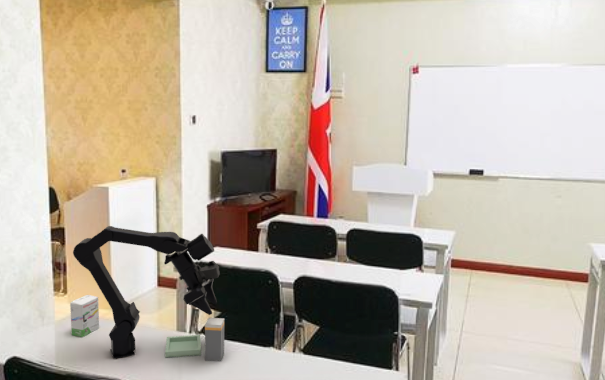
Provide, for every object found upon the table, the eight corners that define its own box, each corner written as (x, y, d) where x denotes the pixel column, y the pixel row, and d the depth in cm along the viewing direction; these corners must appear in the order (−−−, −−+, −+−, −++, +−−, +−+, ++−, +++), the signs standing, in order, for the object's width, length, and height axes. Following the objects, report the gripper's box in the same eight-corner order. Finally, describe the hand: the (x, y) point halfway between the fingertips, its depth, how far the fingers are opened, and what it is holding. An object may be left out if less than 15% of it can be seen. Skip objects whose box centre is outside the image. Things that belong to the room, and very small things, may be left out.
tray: (165, 358, 160) (165, 352, 160) (166, 342, 171) (166, 336, 171) (200, 355, 163) (200, 349, 163) (200, 340, 173) (200, 334, 173)
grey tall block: (204, 360, 160) (204, 324, 158) (208, 353, 165) (208, 317, 163) (221, 361, 159) (221, 325, 158) (224, 353, 164) (224, 318, 163)
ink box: (82, 337, 173) (81, 304, 171) (70, 335, 174) (69, 302, 173) (100, 327, 181) (98, 296, 179) (88, 325, 182) (87, 294, 181)
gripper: (202, 263, 151) (230, 306, 153) (213, 247, 169) (238, 286, 171) (171, 282, 152) (199, 325, 154) (185, 264, 170) (210, 303, 172)
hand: (213, 308), depth 163 cm, fingers open, 9 cm apart
